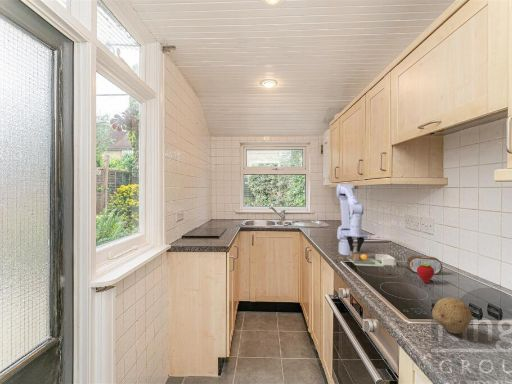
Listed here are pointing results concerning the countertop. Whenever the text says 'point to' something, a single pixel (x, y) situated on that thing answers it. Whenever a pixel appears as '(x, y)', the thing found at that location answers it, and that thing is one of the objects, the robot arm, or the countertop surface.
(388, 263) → the pitch
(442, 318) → the brown lumpy oval
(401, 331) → the countertop surface
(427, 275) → the strawberry
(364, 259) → the ball
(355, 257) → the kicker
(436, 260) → the tin
